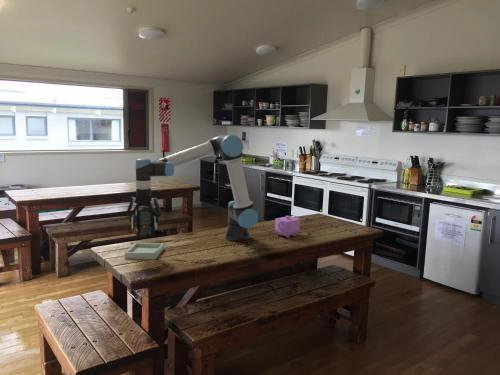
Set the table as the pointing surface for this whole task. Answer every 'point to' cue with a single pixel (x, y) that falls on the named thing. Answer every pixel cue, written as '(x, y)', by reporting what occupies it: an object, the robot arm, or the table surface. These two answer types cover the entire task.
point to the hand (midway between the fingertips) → (144, 228)
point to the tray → (144, 250)
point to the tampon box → (144, 221)
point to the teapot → (287, 226)
